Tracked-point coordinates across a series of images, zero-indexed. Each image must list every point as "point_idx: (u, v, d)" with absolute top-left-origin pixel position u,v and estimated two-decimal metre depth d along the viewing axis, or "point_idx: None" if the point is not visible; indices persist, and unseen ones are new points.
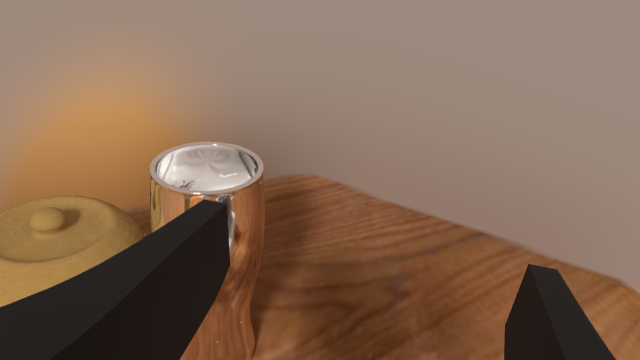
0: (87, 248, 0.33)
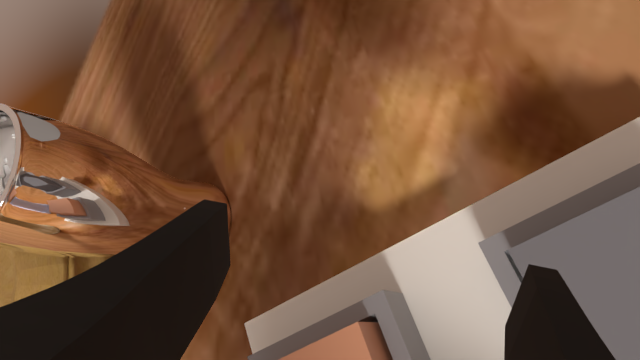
0: (15, 289, 0.31)
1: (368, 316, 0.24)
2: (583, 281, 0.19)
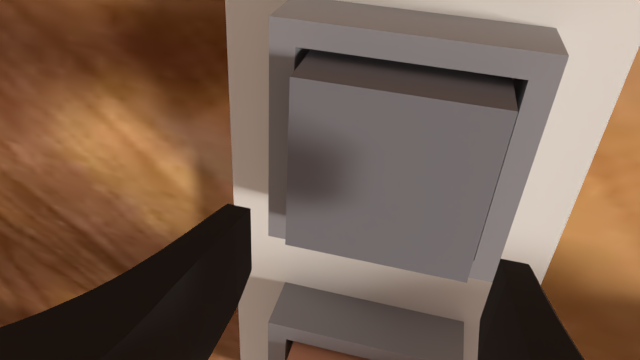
0: None
1: (285, 343, 0.23)
2: (353, 214, 0.16)
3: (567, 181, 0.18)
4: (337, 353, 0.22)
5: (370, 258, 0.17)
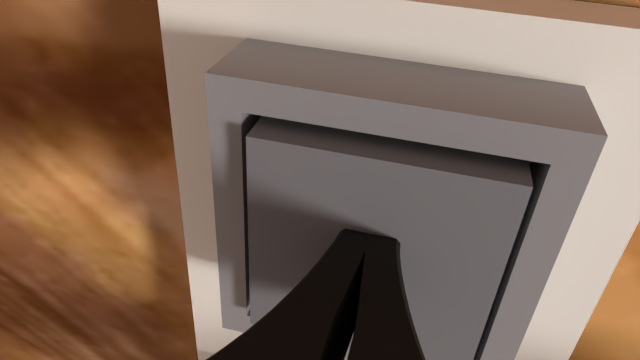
0: None
1: None
2: None
3: (593, 268, 0.14)
4: None
5: None
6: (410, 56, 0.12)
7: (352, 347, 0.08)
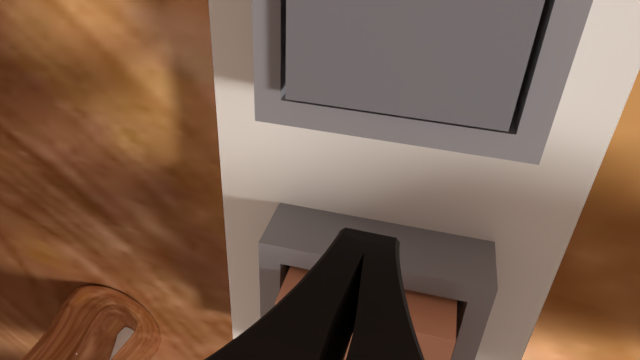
0: None
1: (280, 269, 0.19)
2: (368, 45, 0.13)
3: (632, 35, 0.14)
4: None
5: (389, 108, 0.14)
6: None
7: (351, 347, 0.08)
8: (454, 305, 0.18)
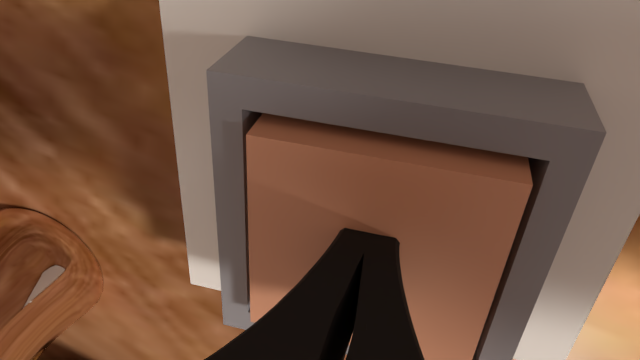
0: None
1: (243, 122, 0.12)
2: None
3: None
4: None
5: None
6: None
7: (351, 347, 0.08)
8: None
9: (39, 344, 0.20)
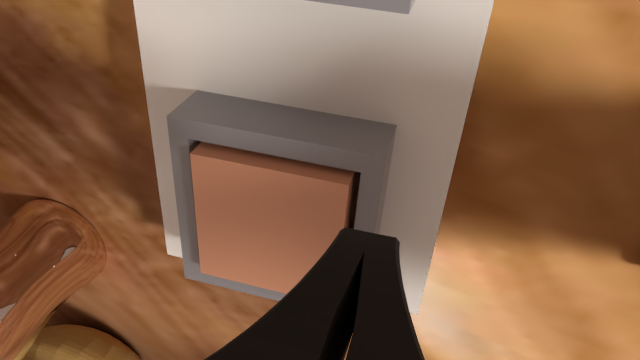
0: None
1: (189, 146, 0.20)
2: None
3: None
4: None
5: None
6: None
7: (351, 347, 0.08)
8: None
9: (59, 297, 0.28)
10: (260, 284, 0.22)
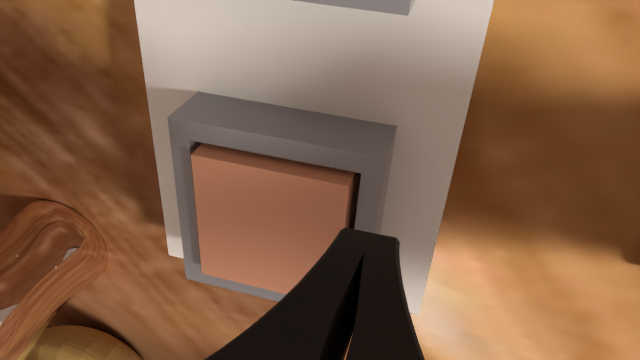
0: None
1: (190, 147, 0.20)
2: None
3: None
4: None
5: None
6: None
7: (351, 347, 0.08)
8: None
9: (61, 298, 0.28)
10: (260, 285, 0.22)
